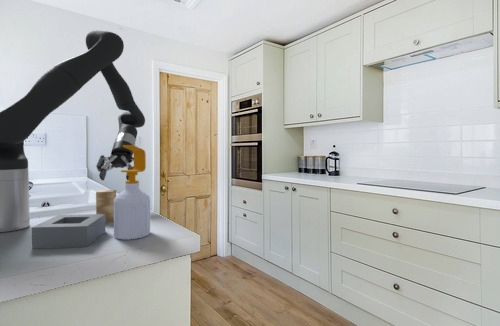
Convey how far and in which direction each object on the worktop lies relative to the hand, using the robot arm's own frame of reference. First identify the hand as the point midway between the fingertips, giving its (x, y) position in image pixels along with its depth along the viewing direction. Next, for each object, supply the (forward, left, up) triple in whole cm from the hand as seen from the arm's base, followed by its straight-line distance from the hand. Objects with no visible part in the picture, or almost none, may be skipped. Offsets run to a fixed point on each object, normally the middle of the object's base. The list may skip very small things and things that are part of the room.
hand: (114, 179), depth 99 cm
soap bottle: (+12, -26, -13) cm, 31 cm away
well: (-2, -28, -12) cm, 30 cm away
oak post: (0, -9, -12) cm, 15 cm away
